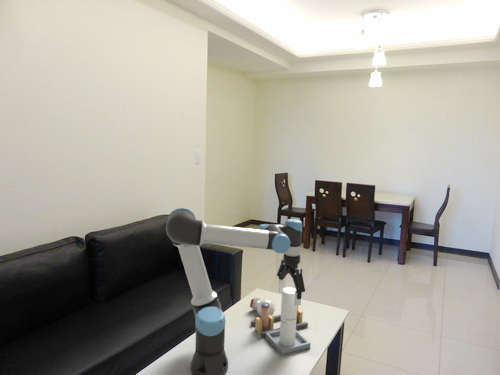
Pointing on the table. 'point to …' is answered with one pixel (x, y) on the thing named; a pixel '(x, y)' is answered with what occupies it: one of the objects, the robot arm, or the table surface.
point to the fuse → (265, 316)
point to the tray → (299, 345)
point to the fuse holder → (258, 321)
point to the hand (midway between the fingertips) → (289, 298)
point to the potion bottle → (257, 305)
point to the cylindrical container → (288, 317)
